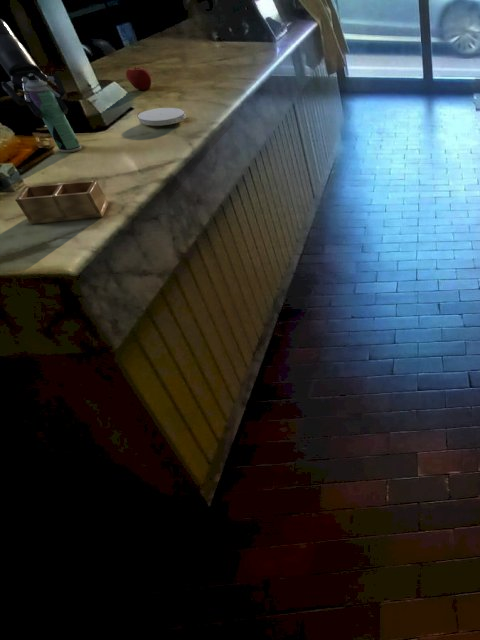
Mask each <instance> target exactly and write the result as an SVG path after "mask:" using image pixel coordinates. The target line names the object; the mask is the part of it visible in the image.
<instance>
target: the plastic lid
mask: <svg viewBox="0 0 480 640" xmlns="http://www.w3.org/2000/svg"><path fill="white" fill-rule="evenodd" d="M137 118H138V120H139V122H140V124H141V125H145V126H152V127H153V126H154V127H155V126H169V125H173V124H178V123H180V122H182V121H185V120H186V119H187V115H186V113H185V111H184V110H183V109H181V108H176V107H159V108H151V109H147V110H144V111H141V112H140V113H138V114H137Z"/></svg>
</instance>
